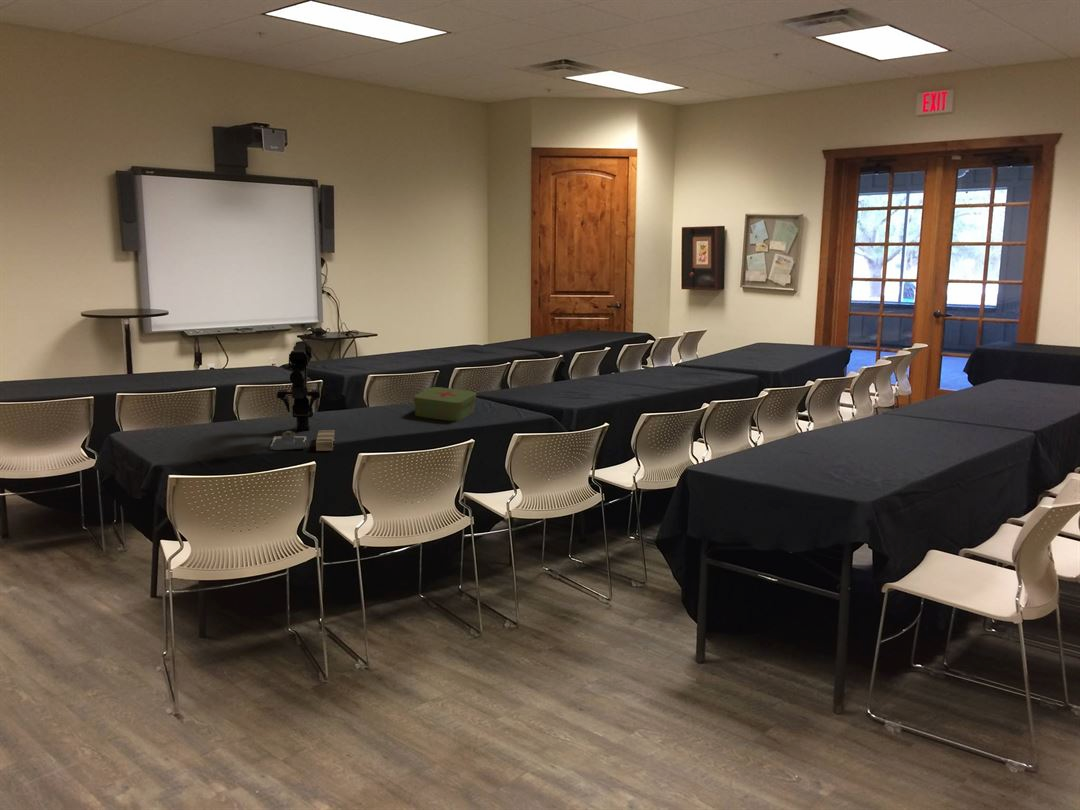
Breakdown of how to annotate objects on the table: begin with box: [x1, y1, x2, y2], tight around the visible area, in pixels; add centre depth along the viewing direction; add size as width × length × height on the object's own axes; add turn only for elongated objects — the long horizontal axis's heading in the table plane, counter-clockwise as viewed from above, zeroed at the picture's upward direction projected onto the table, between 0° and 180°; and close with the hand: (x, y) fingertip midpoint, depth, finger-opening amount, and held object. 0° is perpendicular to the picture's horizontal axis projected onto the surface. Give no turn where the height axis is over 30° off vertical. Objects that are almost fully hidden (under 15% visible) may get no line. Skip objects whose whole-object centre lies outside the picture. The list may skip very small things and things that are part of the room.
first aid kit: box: [413, 386, 477, 422], centre depth 454 cm, size 26×26×10 cm
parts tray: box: [269, 435, 307, 447], centre depth 392 cm, size 16×14×2 cm
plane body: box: [315, 429, 336, 452], centre depth 394 cm, size 18×7×4 cm, turn 10°
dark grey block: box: [281, 430, 296, 444], centre depth 391 cm, size 7×5×5 cm
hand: (299, 412), depth 400 cm, fingers open, 9 cm apart
